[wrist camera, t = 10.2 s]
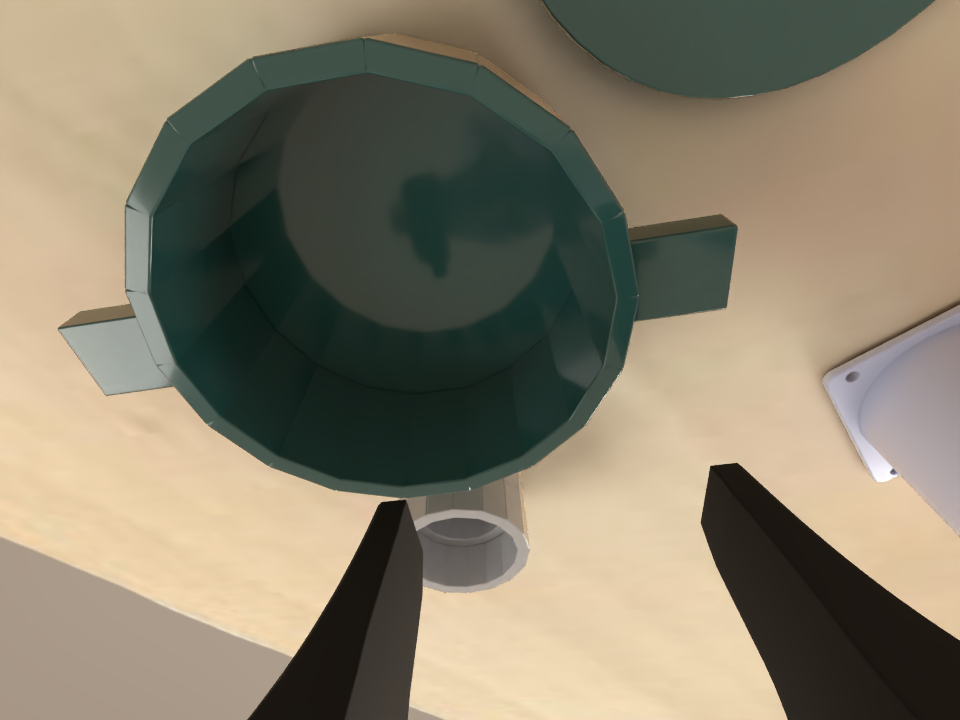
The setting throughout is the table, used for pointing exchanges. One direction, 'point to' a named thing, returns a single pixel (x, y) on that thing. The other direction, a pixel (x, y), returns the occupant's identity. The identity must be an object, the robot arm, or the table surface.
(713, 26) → the pan lid
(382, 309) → the pan
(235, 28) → the table surface
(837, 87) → the table surface
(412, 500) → the cup
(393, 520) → the robot arm
